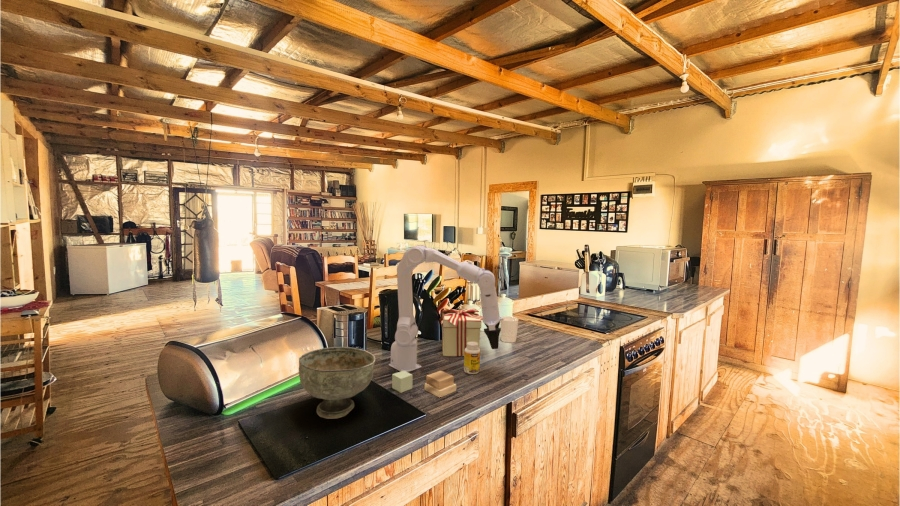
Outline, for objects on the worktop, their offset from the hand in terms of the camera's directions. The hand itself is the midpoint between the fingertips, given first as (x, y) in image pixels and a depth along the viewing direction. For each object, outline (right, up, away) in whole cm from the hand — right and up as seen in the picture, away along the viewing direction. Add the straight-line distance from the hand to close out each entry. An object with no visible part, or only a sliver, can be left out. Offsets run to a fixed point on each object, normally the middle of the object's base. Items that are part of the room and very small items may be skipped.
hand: (494, 344), depth 127 cm
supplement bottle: (-8, -10, +3) cm, 13 cm away
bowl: (-47, -12, -24) cm, 54 cm away
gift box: (-11, -9, +23) cm, 26 cm away
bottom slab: (-19, -12, -12) cm, 25 cm away
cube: (-31, -11, -11) cm, 34 cm away
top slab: (-19, -9, -12) cm, 24 cm away
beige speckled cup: (+11, -8, +38) cm, 40 cm away
